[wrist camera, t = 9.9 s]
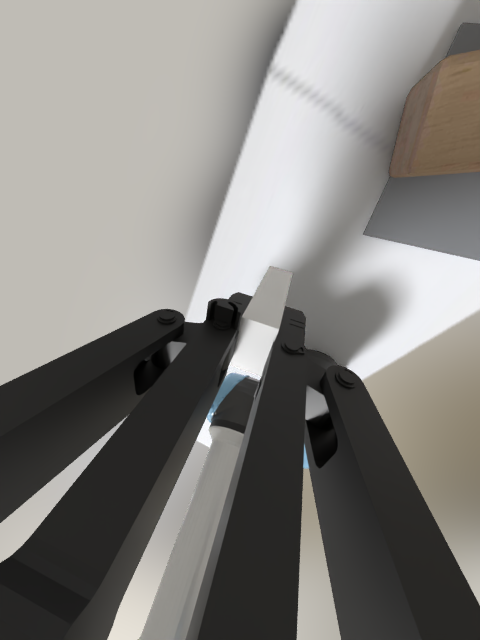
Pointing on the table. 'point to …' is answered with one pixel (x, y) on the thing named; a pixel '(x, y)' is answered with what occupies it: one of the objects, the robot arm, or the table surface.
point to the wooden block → (441, 121)
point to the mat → (434, 198)
